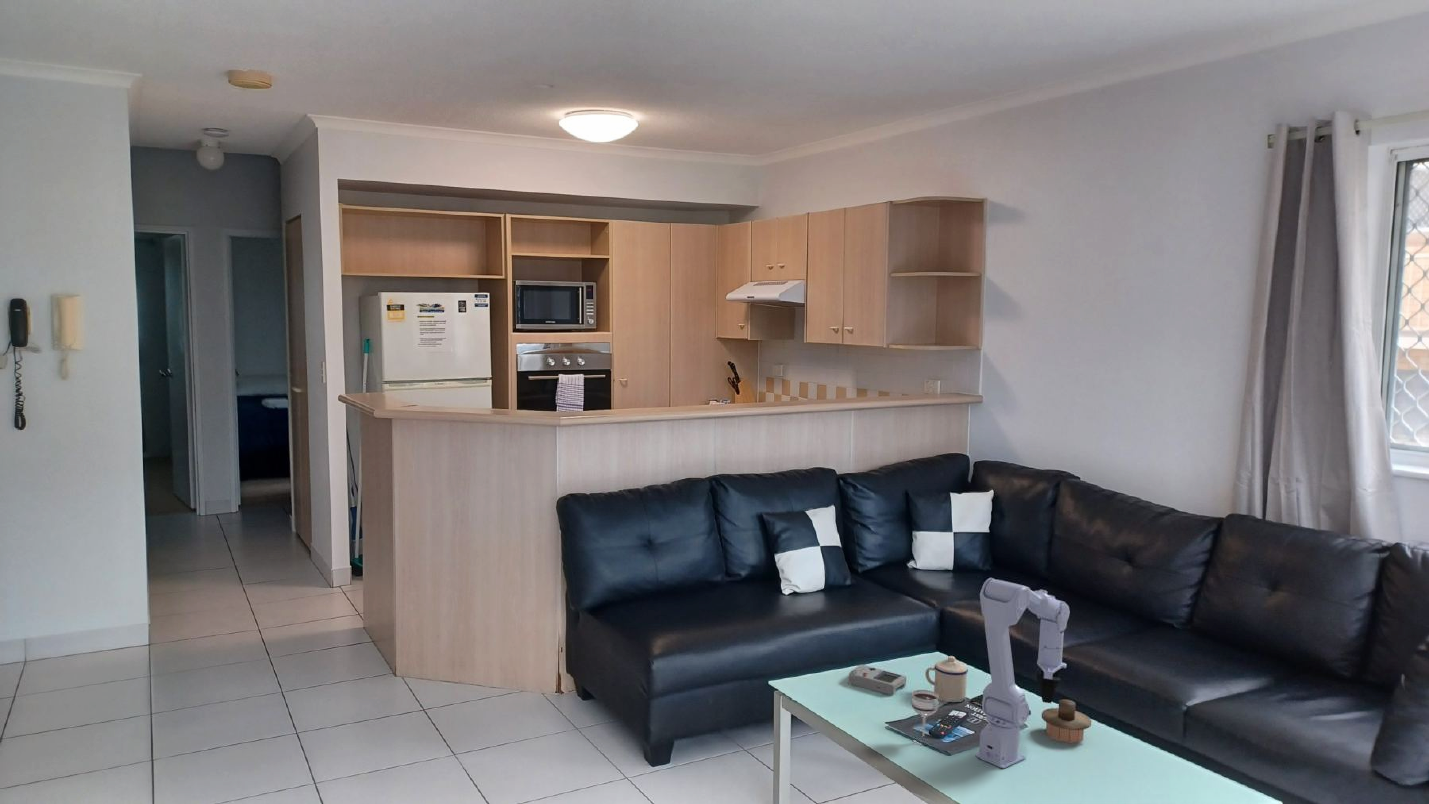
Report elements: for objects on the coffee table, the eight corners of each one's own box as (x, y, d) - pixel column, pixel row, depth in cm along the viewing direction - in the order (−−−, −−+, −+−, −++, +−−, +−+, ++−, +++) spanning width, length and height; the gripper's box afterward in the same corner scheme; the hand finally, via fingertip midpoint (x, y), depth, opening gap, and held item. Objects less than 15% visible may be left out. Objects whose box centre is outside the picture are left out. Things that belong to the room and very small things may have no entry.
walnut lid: (1075, 734, 237) (1076, 716, 237) (1032, 717, 247) (1033, 700, 246) (1100, 722, 245) (1101, 704, 244) (1057, 706, 254) (1058, 689, 254)
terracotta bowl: (1070, 745, 240) (1071, 730, 239) (1038, 732, 247) (1039, 717, 246) (1090, 736, 245) (1091, 721, 245) (1058, 724, 252) (1059, 709, 252)
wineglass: (942, 741, 240) (944, 695, 239) (927, 749, 235) (930, 702, 234) (918, 732, 245) (920, 687, 244) (904, 740, 240) (906, 694, 239)
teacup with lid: (971, 696, 269) (973, 656, 268) (958, 706, 262) (960, 665, 261) (931, 685, 276) (933, 646, 275) (918, 695, 269) (920, 655, 268)
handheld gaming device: (860, 675, 284) (860, 663, 283) (906, 688, 275) (906, 675, 275) (846, 685, 277) (846, 672, 276) (892, 698, 268) (893, 684, 268)
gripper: (1066, 656, 236) (1063, 710, 237) (1068, 639, 250) (1065, 689, 251) (1036, 652, 239) (1033, 704, 240) (1040, 635, 252) (1036, 684, 253)
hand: (1047, 696), depth 246 cm, fingers open, 7 cm apart
